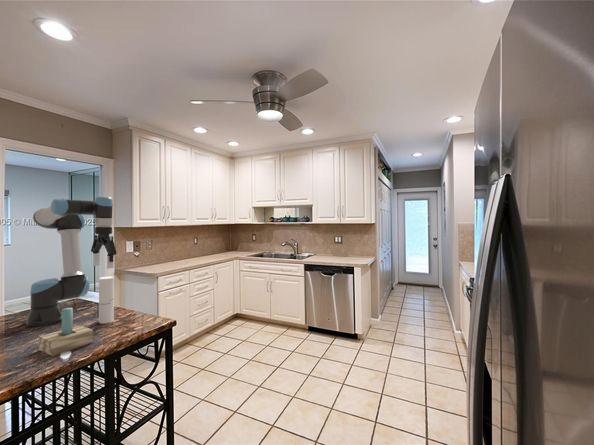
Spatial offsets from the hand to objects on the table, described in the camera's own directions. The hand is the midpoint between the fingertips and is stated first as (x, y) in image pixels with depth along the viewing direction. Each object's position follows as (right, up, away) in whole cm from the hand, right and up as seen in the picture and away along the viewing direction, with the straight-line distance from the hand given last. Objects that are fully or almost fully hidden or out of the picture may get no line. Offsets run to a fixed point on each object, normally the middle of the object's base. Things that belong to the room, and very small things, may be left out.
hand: (103, 266), depth 153 cm
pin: (-4, -31, -18) cm, 36 cm away
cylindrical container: (-8, -34, +14) cm, 37 cm away
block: (-5, -34, -18) cm, 39 cm away
